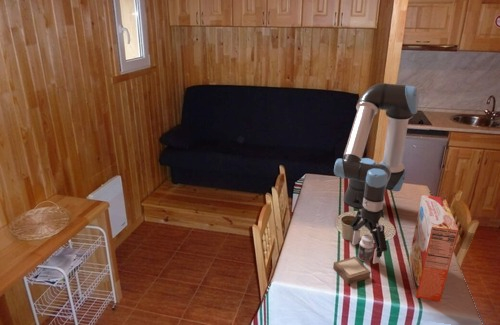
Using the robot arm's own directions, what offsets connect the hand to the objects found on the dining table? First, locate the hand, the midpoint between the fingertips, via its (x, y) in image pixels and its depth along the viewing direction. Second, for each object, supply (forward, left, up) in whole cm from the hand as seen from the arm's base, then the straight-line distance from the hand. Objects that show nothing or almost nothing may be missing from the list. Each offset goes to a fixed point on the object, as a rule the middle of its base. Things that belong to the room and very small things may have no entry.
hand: (365, 252), depth 159 cm
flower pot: (-15, +3, -3) cm, 16 cm away
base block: (+6, -11, -3) cm, 13 cm away
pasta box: (+19, +13, -3) cm, 23 cm away
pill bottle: (0, 0, -3) cm, 3 cm away
